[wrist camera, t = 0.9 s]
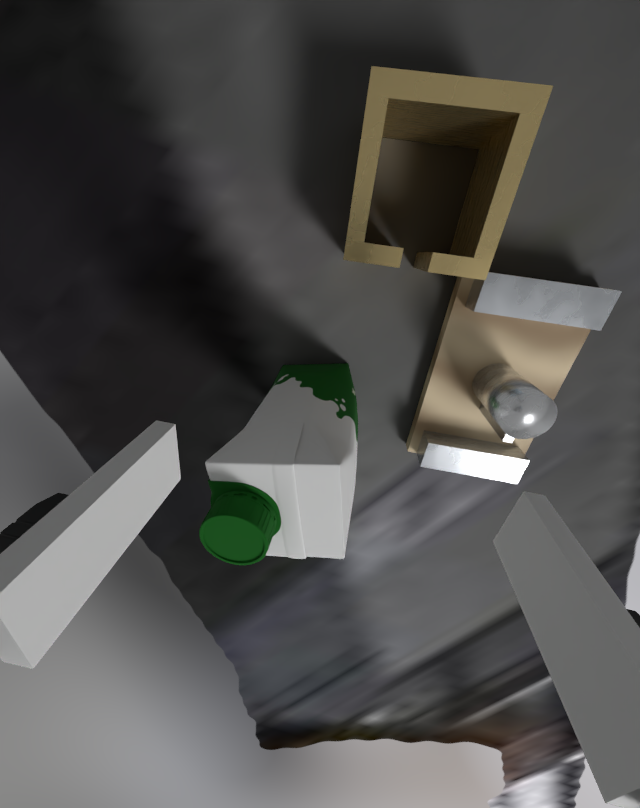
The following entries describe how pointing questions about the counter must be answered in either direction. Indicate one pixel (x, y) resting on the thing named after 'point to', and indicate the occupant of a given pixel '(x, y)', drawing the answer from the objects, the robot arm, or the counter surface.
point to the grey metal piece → (513, 375)
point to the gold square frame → (454, 126)
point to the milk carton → (287, 472)
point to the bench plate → (479, 347)
